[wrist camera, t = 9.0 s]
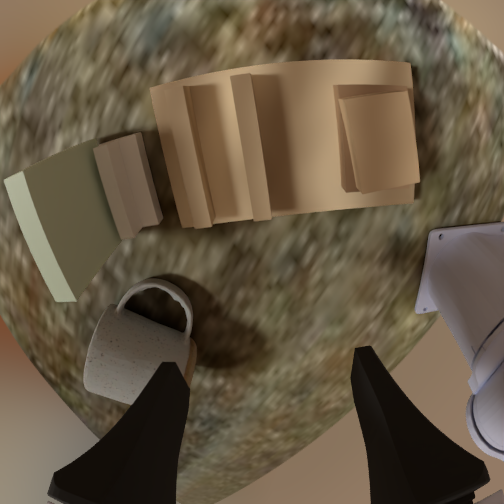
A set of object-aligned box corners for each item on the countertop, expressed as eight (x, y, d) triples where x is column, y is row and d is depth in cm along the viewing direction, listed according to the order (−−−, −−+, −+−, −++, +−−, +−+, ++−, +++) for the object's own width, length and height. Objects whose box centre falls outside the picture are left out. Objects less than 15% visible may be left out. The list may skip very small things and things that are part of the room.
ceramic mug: (185, 368, 28) (171, 435, 21) (109, 340, 26) (81, 401, 20) (219, 293, 23) (204, 373, 16) (120, 256, 21) (74, 323, 15)
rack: (403, 63, 13) (422, 61, 11) (407, 197, 18) (423, 212, 16) (155, 87, 15) (139, 88, 13) (185, 221, 20) (176, 239, 17)
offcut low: (398, 85, 13) (407, 86, 12) (401, 181, 16) (409, 188, 15) (332, 85, 14) (337, 84, 13) (341, 186, 17) (345, 192, 16)
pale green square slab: (95, 138, 16) (22, 170, 10) (125, 236, 19) (76, 301, 13) (77, 144, 16) (3, 179, 10) (106, 239, 19) (56, 302, 13)
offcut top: (397, 90, 13) (407, 90, 12) (410, 175, 15) (419, 182, 14) (337, 99, 13) (344, 99, 12) (356, 187, 16) (362, 194, 15)
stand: (141, 131, 16) (124, 138, 14) (163, 218, 19) (151, 235, 17) (59, 158, 17) (38, 169, 15) (83, 232, 20) (67, 248, 18)
